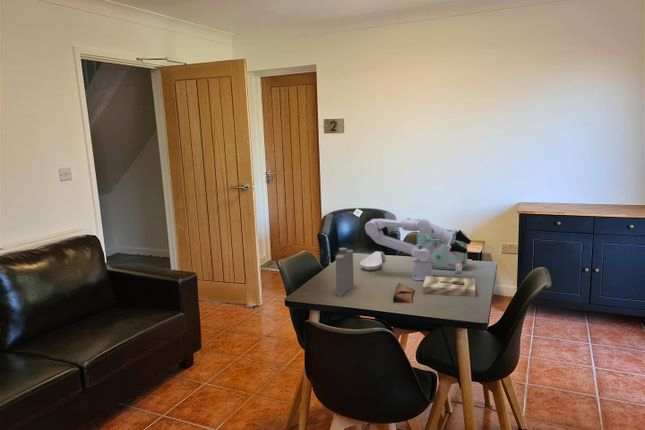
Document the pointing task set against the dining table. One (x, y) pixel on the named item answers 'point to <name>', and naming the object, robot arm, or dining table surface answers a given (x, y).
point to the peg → (458, 269)
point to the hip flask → (344, 271)
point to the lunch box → (442, 252)
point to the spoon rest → (373, 261)
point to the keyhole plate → (449, 286)
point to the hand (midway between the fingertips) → (468, 247)
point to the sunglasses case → (403, 294)
